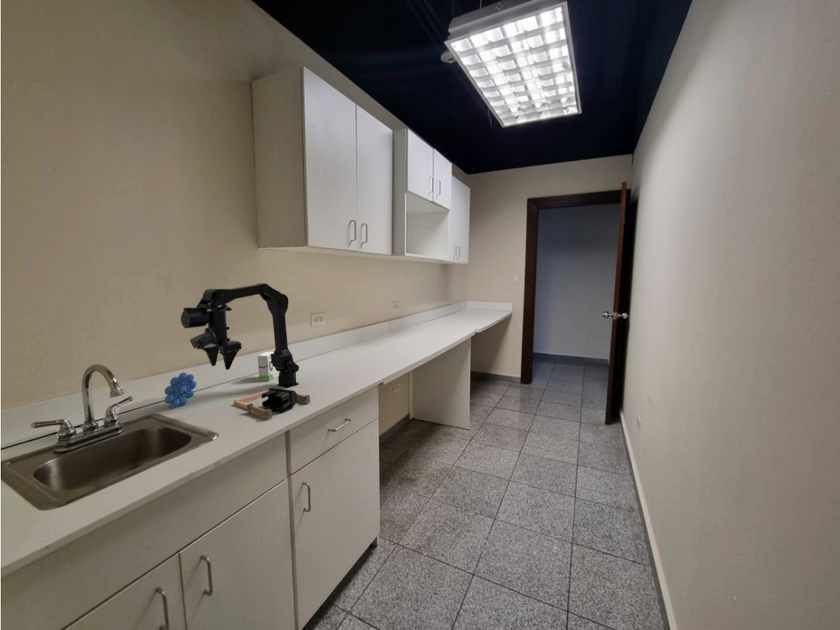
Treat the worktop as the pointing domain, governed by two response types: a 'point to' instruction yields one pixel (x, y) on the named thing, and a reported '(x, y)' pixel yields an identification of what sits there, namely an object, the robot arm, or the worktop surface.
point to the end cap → (279, 400)
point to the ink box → (266, 367)
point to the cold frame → (267, 413)
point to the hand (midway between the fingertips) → (220, 367)
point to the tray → (248, 399)
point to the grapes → (180, 390)
